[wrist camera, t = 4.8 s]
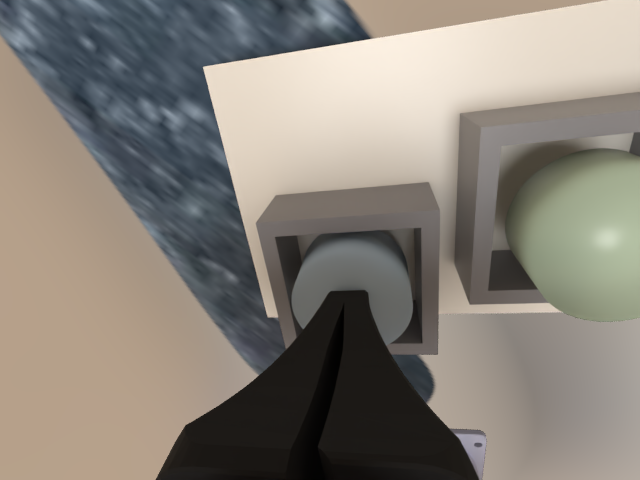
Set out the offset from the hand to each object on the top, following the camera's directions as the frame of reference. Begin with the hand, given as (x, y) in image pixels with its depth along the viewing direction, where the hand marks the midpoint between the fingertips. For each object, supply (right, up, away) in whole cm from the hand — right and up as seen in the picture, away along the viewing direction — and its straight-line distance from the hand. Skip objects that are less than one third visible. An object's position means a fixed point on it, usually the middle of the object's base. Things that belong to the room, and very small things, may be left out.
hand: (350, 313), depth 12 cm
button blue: (0, +1, +2) cm, 3 cm away
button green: (+7, +3, -1) cm, 8 cm away
